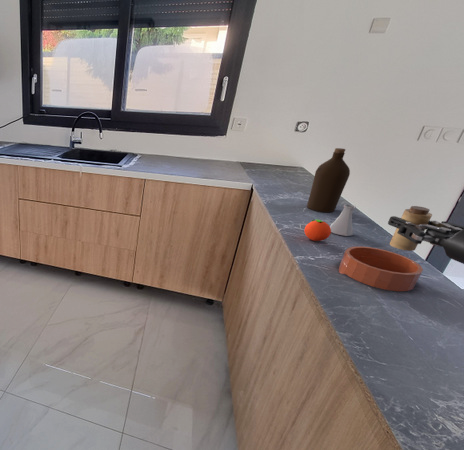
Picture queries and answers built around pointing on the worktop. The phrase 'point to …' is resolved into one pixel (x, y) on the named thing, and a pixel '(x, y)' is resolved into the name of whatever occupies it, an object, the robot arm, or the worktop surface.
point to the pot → (380, 268)
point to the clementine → (317, 230)
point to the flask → (344, 222)
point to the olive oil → (329, 183)
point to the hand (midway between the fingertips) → (400, 219)
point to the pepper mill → (415, 216)
